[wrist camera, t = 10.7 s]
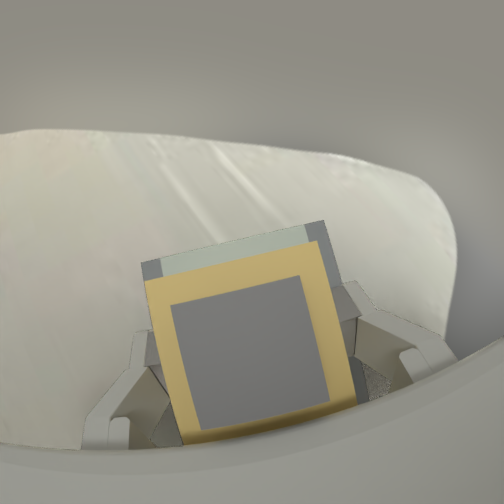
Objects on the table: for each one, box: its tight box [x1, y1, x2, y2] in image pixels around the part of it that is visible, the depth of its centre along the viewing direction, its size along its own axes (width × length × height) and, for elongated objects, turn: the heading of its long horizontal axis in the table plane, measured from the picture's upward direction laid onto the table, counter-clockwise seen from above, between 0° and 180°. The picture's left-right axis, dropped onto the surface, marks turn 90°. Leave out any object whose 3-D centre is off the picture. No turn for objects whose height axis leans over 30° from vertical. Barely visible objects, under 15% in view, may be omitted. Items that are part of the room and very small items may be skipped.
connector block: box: [144, 241, 358, 445], centre depth 11 cm, size 4×4×11 cm
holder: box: [141, 220, 369, 445], centre depth 15 cm, size 9×10×3 cm
